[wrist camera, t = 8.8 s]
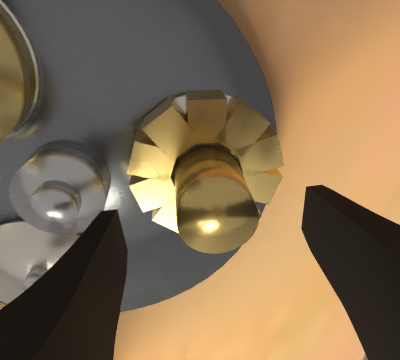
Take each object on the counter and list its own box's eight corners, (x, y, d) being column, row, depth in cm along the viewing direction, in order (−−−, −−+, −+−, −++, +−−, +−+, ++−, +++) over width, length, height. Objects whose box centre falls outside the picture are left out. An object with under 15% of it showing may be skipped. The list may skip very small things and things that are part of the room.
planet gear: (266, 212, 18) (299, 282, 13) (138, 221, 17) (130, 296, 13) (282, 87, 14) (332, 127, 10) (121, 92, 14) (101, 137, 9)
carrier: (264, 278, 23) (289, 352, 18) (-37, 317, 22) (-92, 405, 17) (281, -110, 12) (356, -180, 7) (-315, -68, 11) (-672, -115, 6)
